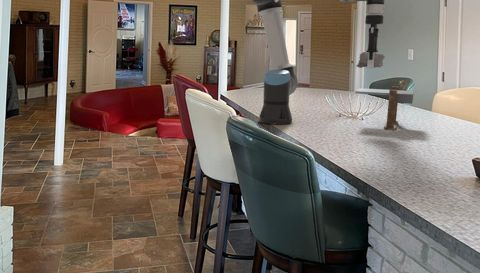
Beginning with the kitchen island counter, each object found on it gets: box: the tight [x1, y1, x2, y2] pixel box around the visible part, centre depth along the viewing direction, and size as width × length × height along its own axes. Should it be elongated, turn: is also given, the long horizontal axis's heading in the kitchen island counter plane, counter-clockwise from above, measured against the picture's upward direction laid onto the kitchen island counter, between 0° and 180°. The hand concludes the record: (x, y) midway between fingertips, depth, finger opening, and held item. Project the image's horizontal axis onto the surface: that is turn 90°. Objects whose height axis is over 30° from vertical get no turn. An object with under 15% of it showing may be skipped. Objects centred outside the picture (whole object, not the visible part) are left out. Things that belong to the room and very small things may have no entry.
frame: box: [383, 85, 400, 131], centre depth 209 cm, size 5×22×17 cm, turn 159°
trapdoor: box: [354, 87, 415, 105], centre depth 209 cm, size 24×16×4 cm, turn 69°
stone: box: [356, 51, 386, 69], centre depth 209 cm, size 8×12×7 cm, turn 66°
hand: (371, 67), depth 209 cm, fingers closed on stone, 8 cm apart
